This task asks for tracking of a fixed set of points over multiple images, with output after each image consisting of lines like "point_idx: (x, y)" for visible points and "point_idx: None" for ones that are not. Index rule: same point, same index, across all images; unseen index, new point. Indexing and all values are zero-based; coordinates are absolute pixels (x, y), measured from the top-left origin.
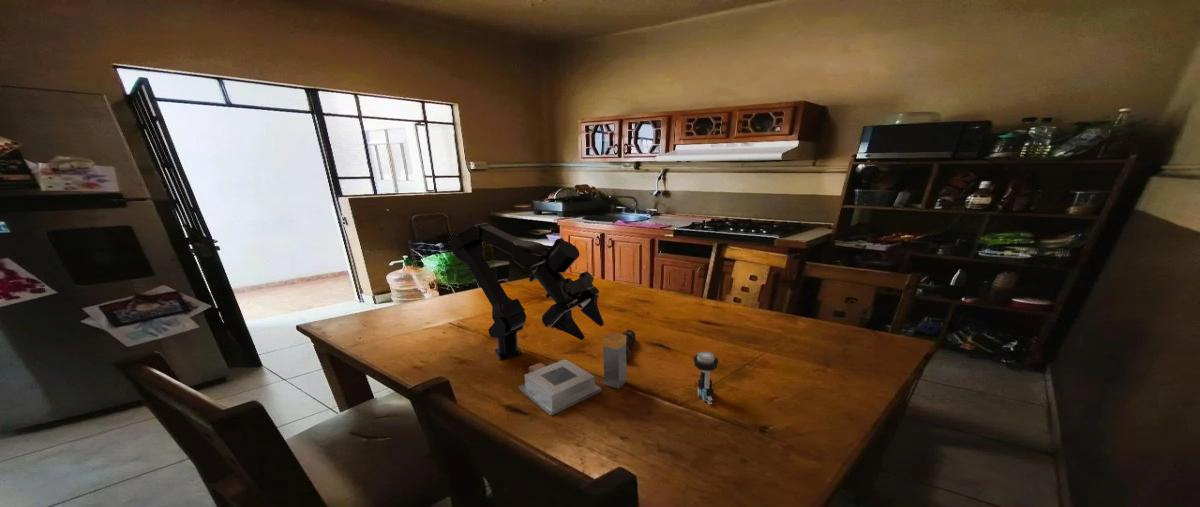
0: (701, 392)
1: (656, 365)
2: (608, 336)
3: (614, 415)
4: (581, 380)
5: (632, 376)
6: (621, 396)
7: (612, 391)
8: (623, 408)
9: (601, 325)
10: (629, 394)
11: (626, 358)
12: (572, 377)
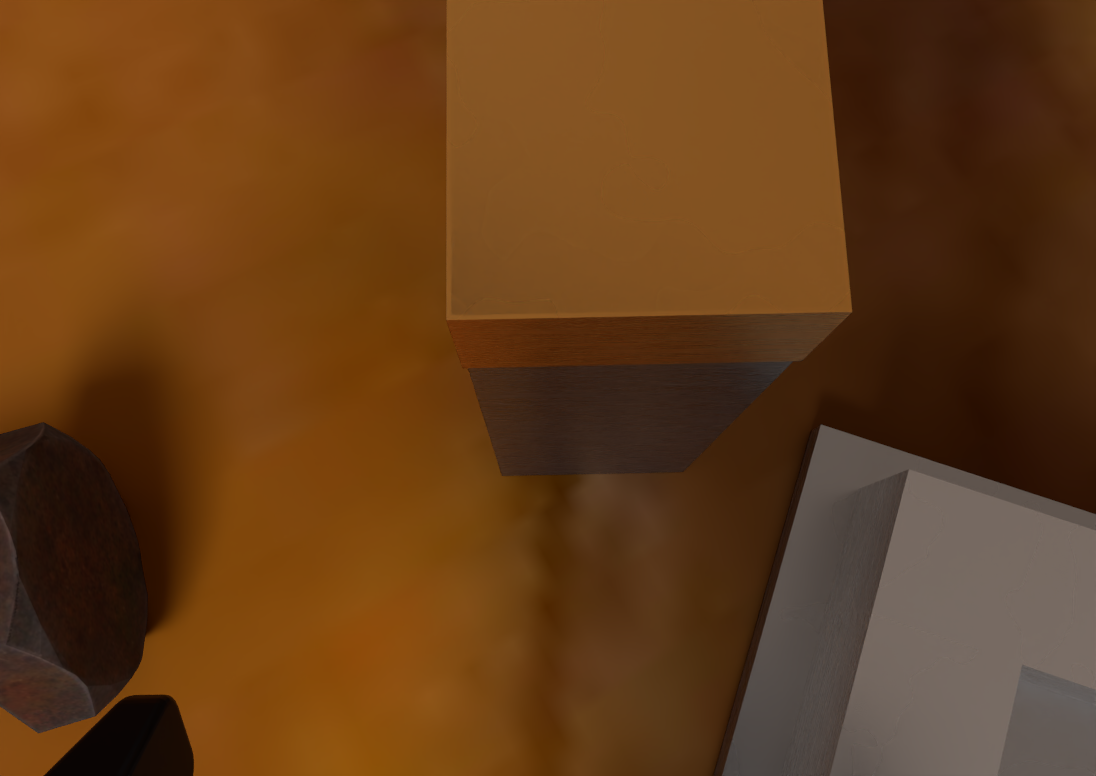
0: None
1: (45, 168)
2: (697, 251)
3: (1064, 138)
4: (1082, 560)
5: (383, 290)
6: None
7: None
8: (932, 119)
9: (180, 755)
10: None
11: (98, 477)
12: None
